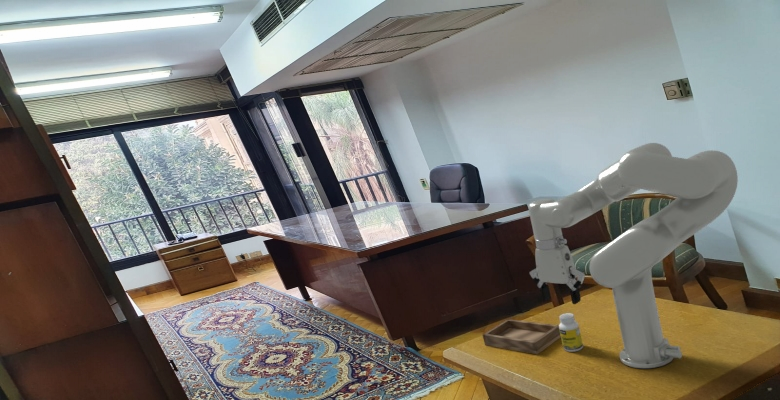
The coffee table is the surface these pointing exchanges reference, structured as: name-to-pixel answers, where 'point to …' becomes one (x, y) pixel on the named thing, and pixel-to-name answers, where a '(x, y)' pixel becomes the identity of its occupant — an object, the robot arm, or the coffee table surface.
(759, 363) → the coffee table surface
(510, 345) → the tray
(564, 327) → the supplement bottle
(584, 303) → the coffee table surface
